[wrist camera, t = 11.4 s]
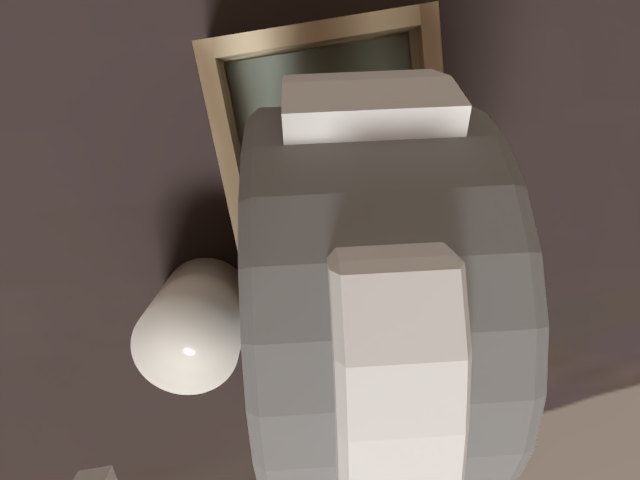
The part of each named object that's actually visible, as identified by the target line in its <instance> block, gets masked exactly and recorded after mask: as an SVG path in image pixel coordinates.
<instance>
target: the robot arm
mask: <svg viewBox="0 0 640 480" xmlns="http://www.w3.org/2000/svg"><path fill="white" fill-rule="evenodd" d="M73 480H117V478H116V475H115V472H114V469H113V466H112V465H111V466H105V467H99V468H93V469H88V470H82V471H78V472H77V474H76V476H75V478H74V479H73Z"/></svg>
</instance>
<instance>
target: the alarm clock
mask: <svg viewBox="0 0 640 480" xmlns="http://www.w3.org/2000/svg"><path fill="white" fill-rule="evenodd" d="M238 285H239V311H240V338H241V354H242V366H243V379H244V392H245V405H246V415H247V423H248V431H249V438H250V446H251V454H252V461H253V466H254V470H255V475H256V479H257V480H516V479H518V478H519V476H520V475H521V473H522V471H523V469H524V467H525V465H526V464H527V462H528V460H529V458H530V456H531V455H532V453H533V451H534V449H535V447H536V441H537V437H538V433H539V428H540V423H541V419H542V414H543V409H544V405H545V400H546V395H547V368H548V341H549V321H548V311H547V301H546V291H545V280H544V270H543V260H542V252H541V247H540V243H539V239H538V235H537V230H536V226H535V222H534V217H533V213H532V209H531V205H530V200H529V196H528V192H527V188H526V185H525V183H524V180H523V178H522V176H521V173H520V171H519V168H518V166H517V164H516V161H515V159H514V156H513V154H512V151H511V149H510V147H509V144H508V142H507V140H506V138H505V137H504V136H503V134H502V133H501V132H500V130H499V129H498V128H497V126H496V125H495V124H494V122H493V121H492V120H491V118H490V117H489V116H488V115H487V113H486V112H484V111H482V110H480V109H478V108H475V107H473V106H472V105H471V104H470V102H469V101H468V99H467V98H466V96H465V95H464V93H463V92H462V90H461V89H460V87H459V86H458V85H457V83H456V82H455V80H454V79H453V77H452V76H451V75H448V74H445V73H442V72H439V71H437V70H434V69H414V70H389V71H365V72H340V73H316V74H291V75H283V79H282V96H281V107H260V108H258V109H257V110H256V111H255V112H254V113H252V114H251V115H250V116H249V118H248V120H247V123H246V125H245V128H244V135H243V142H242V149H241V157H240V176H239V195H238Z"/></svg>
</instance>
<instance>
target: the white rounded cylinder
mask: <svg viewBox="0 0 640 480" xmlns="http://www.w3.org/2000/svg"><path fill="white" fill-rule="evenodd" d="M240 348H241V338H240V311H239V285H238V270H237V269H236V268H235V267H233V266H232V265H230V264H228V263H227V262H224V261H222V260H219V259H214V258H197V259H193V260H190V261H187V262H185V263H183V264H182V265H180V266H179V267H178V268H176V269H175V270H174V271H173V273H172V274H171V275H170V277H169V278H168V280H167V281H166V282H165V284H164V285H163V287H162V288H161V289H160V291H159V292H158V294H157V295H156V296H155V298H154V299H153V301H152V302H151V304H150V305H149V306H148V308H147V309H146V311H145V312H144V313H143V315H142V316H141V318H140V319H139V320H138V322H137V324H136V325H135V327H134V330H133V332H132V337H131V353H132V357H133V360H134V362H135V365H136V366H137V368H138V370H139V371H140V372H141V374H142V375H143V376H144V377H145V378H146V379H147V380H148V381H149V382H151V383H152V384H154V385H155V386H157V387H158V388H160V389H163V390H165V391H168V392H171V393H175V394H181V395H194V394H201V393H205V392H208V391H210V390H212V389H215V388H216V387H218V386H219V385H221V384H222V383H223V382H225V381H226V380H227V379H228V378H229V376H230V375H231V374H232V372H233V371H234V369H235V366H236V364H237V361H238V357H239V352H240Z"/></svg>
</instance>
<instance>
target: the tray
mask: <svg viewBox="0 0 640 480" xmlns="http://www.w3.org/2000/svg"><path fill="white" fill-rule="evenodd" d="M192 44H193V48H194V53H195V58H196V62H197V67H198V71H199V76H200V81H201V85H202V90H203V94H204V99H205V104H206V108H207V113H208V117H209V122H210V127H211V131H212V136H213V140H214V145H215V150H216V154H217V159H218V163H219V168H220V173H221V177H222V182H223V186H224V191H225V196H226V200H227V205H228V209H229V214H230V219H231V223H232V228H233V232H234V237H235V242H236V246H237V251H238V195H239V176H240V157H241V149H242V142H243V135H244V128H245V125H246V123H247V120H248V118H249V116H250V115H251V114H252V113H254V112H255V111H256V110H257V109H258V108H260V107H281V96H282V79H283V75H291V74H316V73H340V72H365V71H389V70H414V69H434V70H437V71H439V72H442V73H444V72H443V58H442V44H441V30H440V16H439V2H438V1H435V2H429V3H423V4H416V5H410V6H404V7H398V8H392V9H385V10H379V11H373V12H367V13H361V14H355V15H348V16H342V17H336V18H330V19H324V20H317V21H311V22H305V23H299V24H293V25H286V26H280V27H274V28H268V29H262V30H255V31H249V32H243V33H237V34H231V35H225V36H218V37H212V38H206V39H200V40H194V41H192Z"/></svg>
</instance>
